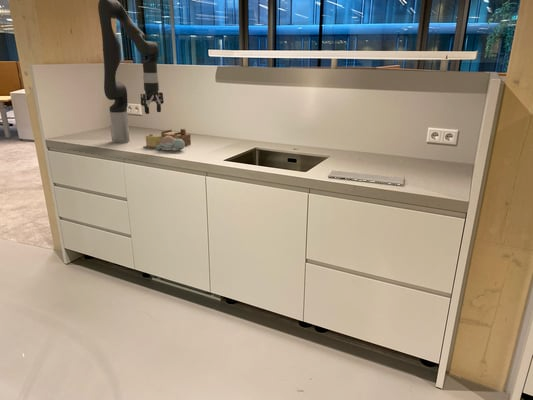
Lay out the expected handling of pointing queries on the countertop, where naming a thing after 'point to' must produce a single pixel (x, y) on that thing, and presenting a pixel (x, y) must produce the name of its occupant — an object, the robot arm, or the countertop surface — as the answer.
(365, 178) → the flat grey slab
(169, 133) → the brown notched block
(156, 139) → the olive yellow block
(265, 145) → the countertop surface
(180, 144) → the toy
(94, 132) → the countertop surface
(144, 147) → the mat
